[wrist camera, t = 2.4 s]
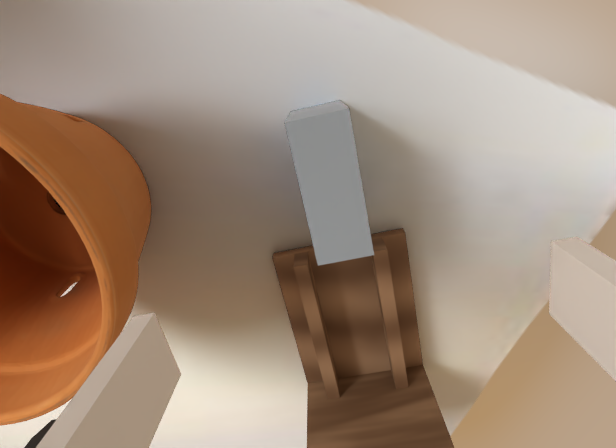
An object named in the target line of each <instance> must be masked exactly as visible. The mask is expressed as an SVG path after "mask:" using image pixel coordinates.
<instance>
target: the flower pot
mask: <svg viewBox="0 0 616 448" xmlns="http://www.w3.org/2000/svg"><path fill="white" fill-rule="evenodd" d="M52 196H53V197H52ZM53 198H54V199H55V200H56V201H57V202H58V204H59V205H60V206H61V207H62V209H63V210H62V209H60V208H59V207H58V206H57V204H56V203H55V201H54V200H53ZM150 219H151V201H150V195H149V190H148V187H147V184H146V181H145V178H144V176H143V174H142V172H141V170H140V168H139V166H138V165H137V163H136V162H135V160H134V159H133V157H132V156H131V155H130V154H129V152H128V151H127V150H126V149H125V148H124V147H123V146H122V145H121V144H120V143H119V142H118V141H117V140H116V139H115V138H114V137H112V136H111V135H110V134H108V133H107V132H106V131H104V130H103V129H101V128H100V127H98V126H96V125H94V124H92V123H90V122H88V121H86V120H84V119H81V118H79V117H75V116H72V115H69V114H65V113H62V112H59V111H55V110H51V109H47V108H43V107H39V106H34V105H30V104H24V103H19V102H15V101H14V100H12V99H10V98H8V97H6V96H4V95H2V94H0V425H7V424H14V423H18V422H23V421H27V420H30V419H33V418H36V417H39V416H41V415H44V414H46V413H48V412H50V411H53V410H54V409H56V408H58V407H60V406H62V405H63V404H65V403H66V402H68V401H69V400H70V399H72V398H73V397H74V396H75V394H76V393H77V392H78V390H79V389H80V388H81V386H82V385H83V384H84V382H85V381H86V379H87V378H88V377H89V375H90V374H91V373H92V371H93V370H94V369H95V367H96V366H97V365H98V363H99V362H100V361H101V359H102V358H103V357H104V355H105V354H106V353H107V351H108V350H109V349H110V347H111V346H112V345H113V343H114V342H115V341H116V339H117V338H118V336H119V335H120V334H121V332H122V330H123V328H124V326H125V324H126V322H127V320H128V318H129V315H130V313H131V311H132V308H133V305H134V302H135V298H136V293H137V287H138V261H139V258H140V254H141V251H142V248H143V245H144V242H145V239H146V235H147V232H148V228H149V224H150ZM75 282H78V283H77V284H76V285H75V286H74V287H73V288H72V290H71V291H70V292H68V293H67V294H66V295H64V296H62V297H60V296H61V295H62V294H63V293H64V292H65V291H66V290H67V289H68V288H69V287H70V286H71V285H72V284H74V283H75Z"/></svg>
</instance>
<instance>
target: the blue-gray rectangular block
mask: <svg viewBox="0 0 616 448" xmlns="http://www.w3.org/2000/svg"><path fill="white" fill-rule="evenodd" d="M285 128H286V132H287V136H288V140H289V145H290V149H291V153H292V158H293V162H294V166H295V170H296V175H297V179H298V183H299V187H300V192H301V196H302V200H303V204H304V209H305V213H306V217H307V221H308V226H309V230H310V234H311V239H312V243H313V247H314V251H315V256H316V260H317V264H318V266H319V265H324V264H329V263H335V262H340V261H345V260H351V259H356V258H361V257H366V256H372V255H374V251H373V245H372V239H371V233H370V227H369V221H368V215H367V210H366V204H365V198H364V192H363V186H362V180H361V174H360V168H359V163H358V157H357V151H356V145H355V139H354V133H353V127H352V122H351V116H350V110H349V108H348V107H347V106H346V105H345V104H344V103H343V102H342V101H340V100H338V101H334V102H330V103H325V104H321V105H316V106H312V107H308V108H303V109H299V110H294V111H291V112H290V114H289V116H288V117H287V119H286V121H285Z"/></svg>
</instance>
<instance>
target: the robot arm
mask: <svg viewBox="0 0 616 448" xmlns="http://www.w3.org/2000/svg"><path fill="white" fill-rule="evenodd" d="M549 302H550V303H549V314H550V315H551V316H552V317H553V318H554V319H555V320H556V321H557V322H558V324H559V325H560V326H562V327H563V329H564V330H565V331H566V332H567V333H568V334H569V335H571V337H572V338H573V339H574V340H575V341H576V342H577V343H578V344H579V345H580V346H581V347H582V348H583V349H584V350H585V351H586V352H587V353H588V354H589V355H590V356H591V357H592V358H593V359H594V360H595V361H597V363H598V364H599V365H600V366H601V367H602V368H603V369H604V370H605V371H606V372H607V373H608V374H609V375H610V376H611V377H612V378H613V379H614V380H615V381H616V260H614V259H612V258H611V257H609V256H607V255H606V254H604V253H603V252H601V251H599V250H598V249H596V248H594V247H593V246H591V245H590V244H588V243H586V242H585V241H583V240H581V239H580V238H578V237H572V238H566V239H561V240H555V241H551V263H550V301H549ZM180 376H181V373H180V370H179V368H178V366H177V363H176V361H175V359H174V356H173V354H172V352H171V349H170V347H169V345H168V342H167V340H166V338H165V336H164V333H163V331H162V329H161V326H160V324H159V322H158V319H157V317H156V315H155V312H154V313H149V314H143V315H137V316H133V318H132V319H131V320H130V322H129V323H128V324H127V326H126V327H125V328H124V330H123V331H122V332H121V334H120V335H119V336H118V338H117V339H116V341H115V342H114V343H113V345H112V346H111V347H110V349H109V350H108V351H107V353H106V354H105V355H104V357H103V358H102V359H101V361H100V362H99V363H98V365H97V366H96V367H95V369H94V370H93V371H92V373H91V374H90V375H89V377H88V378H87V379H86V381H85V382H84V384H83V385H82V386H81V388H80V389H79V390H78V392H77V393H76V394H75V396H74V397H73V398H72V400H71V401H70V402H69V404H68V405H67V406H66V408H65V409H64V410H63V412H62V413H61V414H60V416H59V417H58V418H57V419H56V420H51V421H50V422H49V423H48V424H47V425H46V426H45V427H44V428H43V429H41V430H40V431H39V432H38V433H37V434H36V435H35V436H34V437H33V438H31V440H30V441H29V442H28V444H27V445H26V446H25V448H149V446H150V444H151V441H152V439H153V437H154V434H155V432H156V430H157V428H158V425H159V423H160V421H161V419H162V416H163V414H164V412H165V410H166V407H167V405H168V403H169V400H170V398H171V396H172V394H173V391H174V389H175V387H176V385H177V382H178V380H179V378H180Z"/></svg>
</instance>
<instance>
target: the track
mask: <svg viewBox="0 0 616 448" xmlns="http://www.w3.org/2000/svg"><path fill="white" fill-rule="evenodd" d="M371 239H372V245H373V251H374V255H372V256H366V257H361V258H356V259H351V260H345V261H340V262H335V263H329V264H324V265H319V266H318V264H317V260H316V256H315V251H314V247H313V246H308V247H303V248H298V249H293V250H288V251H282V252H277V253H274V254H273V262H274V265H275V269H276V272H277V276H278V279H279V283H280V286H281V290H282V294H283V297H284V301H285V304H286V308H287V311H288V315H289V318H290V322H291V325H292V329H293V333H294V336H295V340H296V343H297V347H298V350H299V354H300V357H301V361H302V364H303V368H304V372H305V375H306V379H307V382H308V410H307V448H454V446H453V443H452V440H451V438H450V435H449V432H448V430H447V427H446V425H445V422H444V419H443V417H442V414H441V411H440V409H439V406H438V404H437V401H436V398H435V396H434V393H433V391H432V388H431V385H430V383H429V380H428V377H427V375H426V372H425V370H424V367H423V363H422V356H421V348H420V341H419V333H418V326H417V318H416V311H415V303H414V296H413V288H412V281H411V273H410V265H409V258H408V250H407V243H406V235H405V232H404V230H403V228H401V229H396V230H391V231H386V232H381V233H375V234H371Z"/></svg>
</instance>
